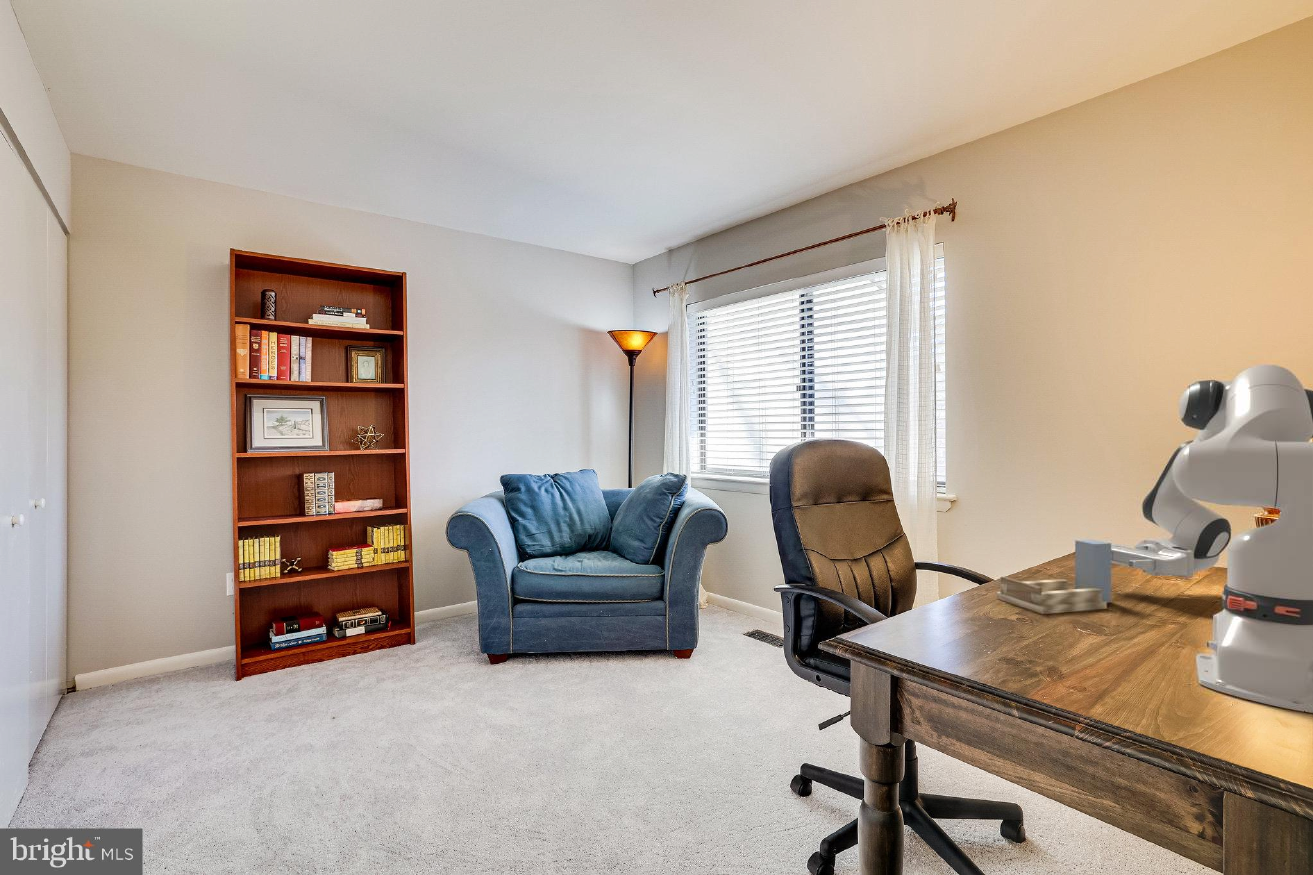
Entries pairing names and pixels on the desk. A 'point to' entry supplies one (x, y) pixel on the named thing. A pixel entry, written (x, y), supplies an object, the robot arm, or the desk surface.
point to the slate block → (1093, 566)
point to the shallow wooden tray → (1049, 596)
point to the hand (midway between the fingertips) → (1112, 560)
